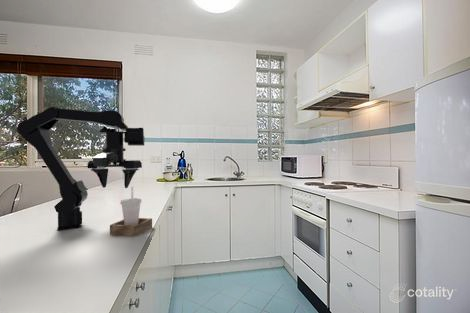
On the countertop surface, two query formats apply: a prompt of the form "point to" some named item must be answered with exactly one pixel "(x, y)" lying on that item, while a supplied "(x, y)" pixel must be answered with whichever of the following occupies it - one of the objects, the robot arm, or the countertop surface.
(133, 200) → the smoothie
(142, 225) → the socket block
